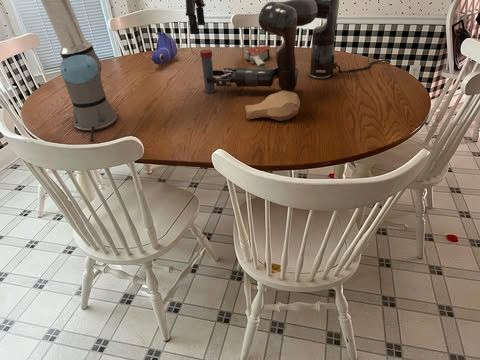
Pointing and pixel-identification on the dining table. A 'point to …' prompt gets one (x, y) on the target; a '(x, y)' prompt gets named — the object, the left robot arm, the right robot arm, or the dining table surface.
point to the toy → (164, 49)
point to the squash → (275, 106)
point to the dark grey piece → (208, 74)
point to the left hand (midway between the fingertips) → (198, 29)
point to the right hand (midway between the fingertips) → (209, 76)
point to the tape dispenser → (257, 55)
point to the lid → (206, 53)
